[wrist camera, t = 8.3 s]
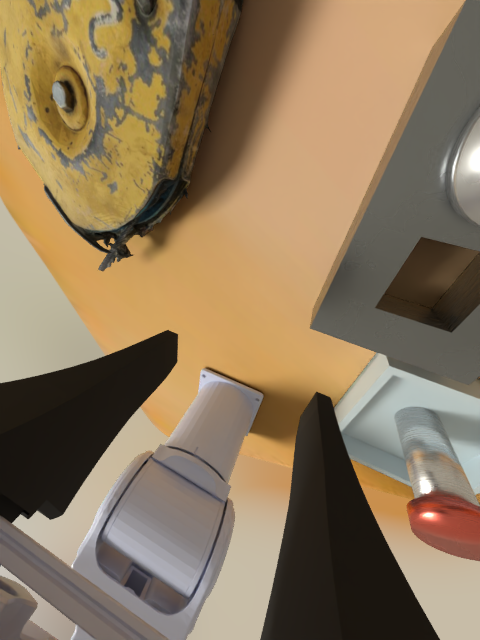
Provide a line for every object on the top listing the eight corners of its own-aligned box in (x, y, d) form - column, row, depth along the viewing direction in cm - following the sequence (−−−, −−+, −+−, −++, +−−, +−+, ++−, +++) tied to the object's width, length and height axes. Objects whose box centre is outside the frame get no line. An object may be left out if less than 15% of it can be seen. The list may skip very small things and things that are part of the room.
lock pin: (427, 443, 19) (473, 567, 13) (376, 422, 20) (395, 528, 14) (463, 416, 17) (541, 553, 11) (403, 394, 18) (442, 507, 11)
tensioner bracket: (447, 355, 16) (476, 397, 12) (313, 309, 17) (308, 336, 14) (740, 76, 8) (1038, -6, 4) (432, 47, 9) (483, -25, 6)
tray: (439, 475, 22) (450, 504, 20) (321, 423, 24) (320, 445, 22) (565, 409, 15) (601, 444, 13) (382, 344, 17) (389, 365, 15)
